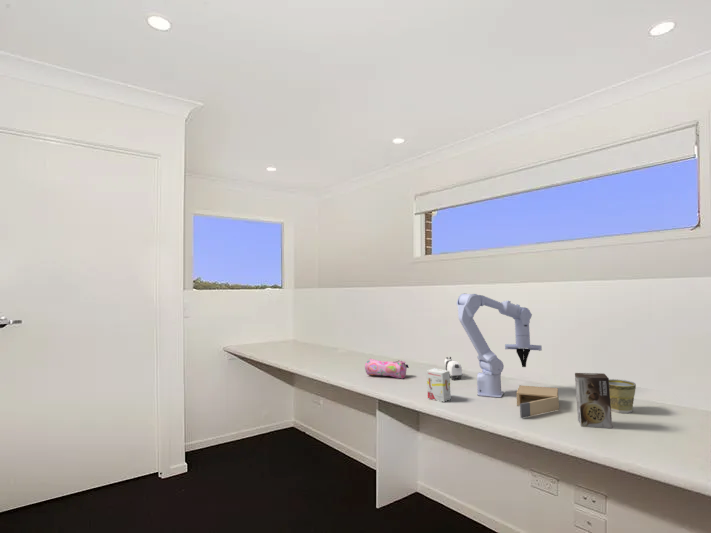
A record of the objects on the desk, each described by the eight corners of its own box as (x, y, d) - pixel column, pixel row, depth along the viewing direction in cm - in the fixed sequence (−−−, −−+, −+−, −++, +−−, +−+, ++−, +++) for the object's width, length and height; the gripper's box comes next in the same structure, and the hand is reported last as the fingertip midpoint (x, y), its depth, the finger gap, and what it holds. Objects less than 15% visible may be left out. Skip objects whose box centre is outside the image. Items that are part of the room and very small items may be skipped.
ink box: (427, 398, 173) (425, 369, 174) (434, 396, 176) (433, 368, 177) (443, 402, 167) (442, 372, 167) (451, 400, 170) (450, 370, 170)
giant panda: (463, 380, 202) (462, 360, 202) (452, 381, 201) (451, 361, 201) (451, 373, 216) (450, 355, 217) (441, 374, 215) (440, 355, 216)
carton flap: (521, 418, 144) (521, 404, 145) (520, 417, 145) (519, 403, 145) (559, 409, 152) (558, 396, 152) (557, 409, 152) (557, 396, 152)
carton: (517, 406, 159) (516, 392, 159) (520, 397, 169) (519, 385, 170) (557, 410, 152) (557, 396, 153) (558, 401, 163) (557, 388, 163)
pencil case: (409, 376, 214) (408, 358, 215) (402, 380, 206) (402, 362, 207) (371, 373, 224) (371, 356, 225) (364, 377, 216) (363, 359, 216)
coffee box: (607, 422, 138) (604, 373, 139) (612, 428, 132) (609, 377, 133) (577, 420, 141) (574, 372, 142) (580, 426, 135) (577, 376, 136)
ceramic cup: (626, 416, 143) (625, 387, 143) (598, 409, 151) (596, 381, 152) (648, 410, 149) (646, 382, 149) (619, 403, 157) (618, 376, 158)
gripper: (541, 334, 180) (543, 365, 179) (506, 333, 187) (507, 363, 186) (540, 336, 174) (542, 369, 173) (503, 335, 180) (505, 367, 180)
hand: (524, 366), depth 179 cm, fingers closed
